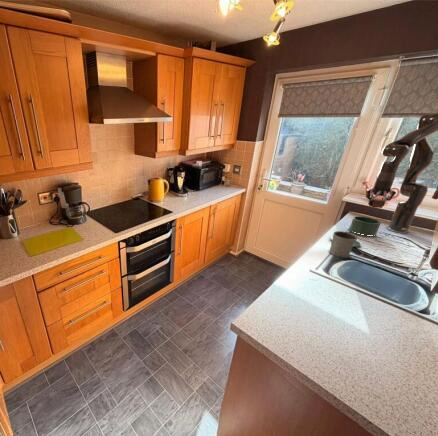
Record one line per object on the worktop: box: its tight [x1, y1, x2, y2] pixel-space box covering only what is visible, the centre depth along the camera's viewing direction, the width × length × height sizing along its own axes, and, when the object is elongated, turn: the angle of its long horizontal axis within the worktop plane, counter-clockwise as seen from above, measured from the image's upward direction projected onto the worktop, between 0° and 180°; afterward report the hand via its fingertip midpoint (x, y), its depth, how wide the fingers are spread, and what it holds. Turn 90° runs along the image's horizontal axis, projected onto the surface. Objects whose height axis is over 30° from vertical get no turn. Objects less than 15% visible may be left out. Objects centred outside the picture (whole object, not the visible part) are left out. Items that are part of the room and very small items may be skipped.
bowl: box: [329, 231, 361, 248], centre depth 142 cm, size 15×15×7 cm
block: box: [370, 198, 385, 209], centre depth 144 cm, size 5×5×5 cm
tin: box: [348, 215, 381, 238], centre depth 155 cm, size 14×14×10 cm
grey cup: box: [329, 230, 358, 259], centre depth 128 cm, size 10×10×12 cm
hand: (375, 206), depth 144 cm, fingers closed on block, 4 cm apart
